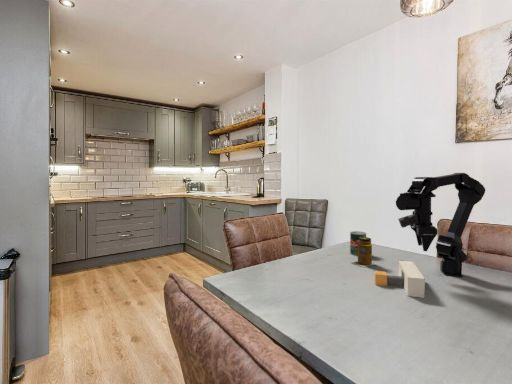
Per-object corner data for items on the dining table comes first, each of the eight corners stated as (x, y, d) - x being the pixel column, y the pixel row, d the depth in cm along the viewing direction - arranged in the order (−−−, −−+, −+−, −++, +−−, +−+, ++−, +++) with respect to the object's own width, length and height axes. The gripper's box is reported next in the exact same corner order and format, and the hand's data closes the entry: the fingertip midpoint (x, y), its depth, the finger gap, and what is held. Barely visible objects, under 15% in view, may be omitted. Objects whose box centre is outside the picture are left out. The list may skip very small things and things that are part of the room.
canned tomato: (366, 252, 154) (366, 231, 153) (365, 256, 147) (365, 234, 146) (350, 251, 157) (351, 230, 156) (349, 254, 150) (349, 233, 149)
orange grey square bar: (418, 285, 107) (418, 274, 107) (420, 289, 104) (420, 278, 103) (374, 281, 112) (374, 270, 112) (375, 284, 108) (375, 274, 108)
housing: (412, 277, 115) (412, 261, 115) (424, 297, 96) (424, 278, 96) (398, 276, 117) (399, 260, 116) (407, 295, 98) (407, 277, 97)
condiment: (375, 264, 133) (376, 238, 133) (364, 267, 129) (364, 240, 128) (362, 260, 139) (362, 235, 139) (350, 263, 135) (350, 238, 134)
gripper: (396, 206, 125) (396, 241, 126) (403, 211, 108) (403, 253, 109) (425, 206, 122) (425, 243, 123) (438, 212, 104) (437, 254, 105)
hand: (422, 248), depth 115 cm, fingers open, 9 cm apart
